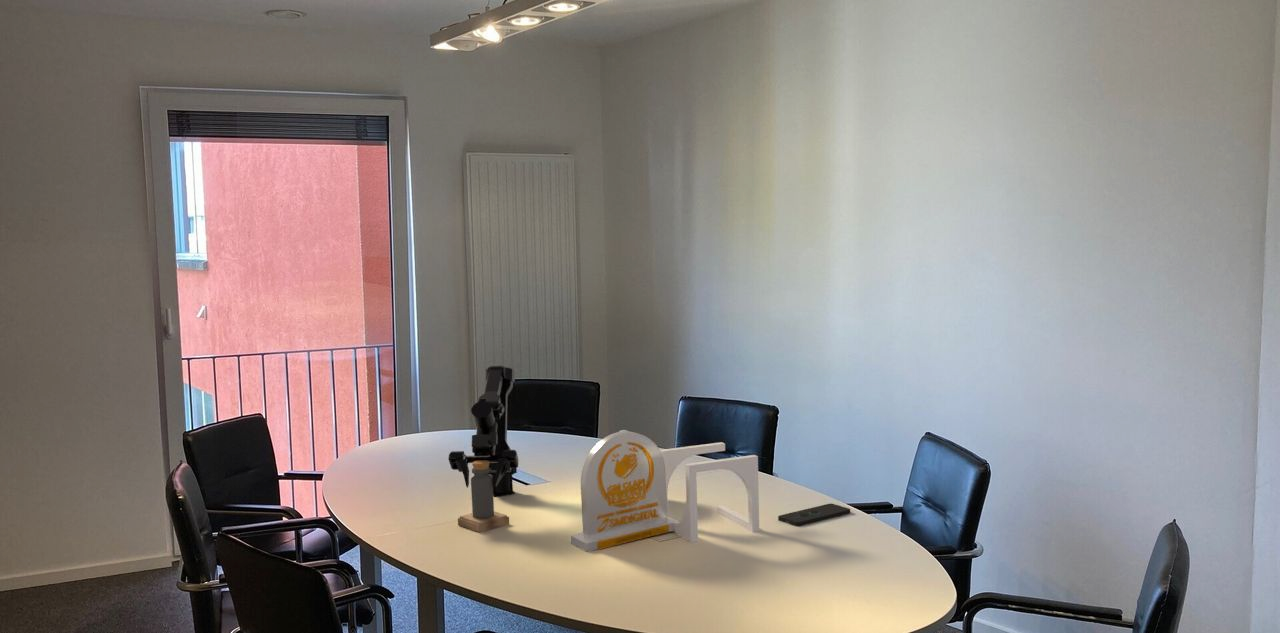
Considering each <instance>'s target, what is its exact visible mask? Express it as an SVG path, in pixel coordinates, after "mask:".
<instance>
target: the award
mask: <svg viewBox="0 0 1280 633" xmlns="http://www.w3.org/2000/svg"><path fill="white" fill-rule="evenodd" d="M594 445H595V447H594V446H593V447H594V448H591V450H590V452H589V453H588V455H587V457H586V458H585V461H584V463H583V467H582V469H581V475H580V496H581V497H580V498H581V514H582V516H581V517H582V518H581V519H582V532H580V533H579V532H578V533H575V534H574V533H573V534H571V535H570V544H571V545H573V546H574V547H576V548H579V549H580V550H583V551H584V552H585V553H587V552H591V551H592V552H593V551H596V550H601V549H606V548H609V547H614V546H618V545H621V544H626V543H631V542H634V541H639V540H642V539H646V538H649V537H653V536H657V535H662V534H666V533H670V532H673V531H675V524H678V523H679V522H680V521H679V520H678V519H675V518H673V517H672V518H671V517H670V516H669V511H668V512H667V498H668V490H667V489H666V469H665V463H664V459H663V456H662V454H661V452H660V450H661V449H659V447H658V445H657V444H656V443H655V442H654V441H653V440H652V439H650V438H649V437H648V436H646V435H645V434H641V433H638V432H634V431H628V430H627V431H622V432H619V431H617V432H613V433H611V434H609V435H607V436H605V437H603V438H602V439H601V440H600V441H598V442H597V443H596V444H594ZM668 516H669V517H668Z"/></svg>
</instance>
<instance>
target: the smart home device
mask: <svg viewBox="0 0 1280 633" xmlns="http://www.w3.org/2000/svg"><path fill="white" fill-rule="evenodd" d="M850 514H851V508H849V507H845V506H841V505H839V504H835V503H827V504H826V503H825V504H823V505H818V506H814V507H810V508H806V509H801V510H797V511H792V512H788V513H784V514H780V515H778V516H777V521H779V522H783V523H785V524H788V525H790V526H794V527H802V526H806V525H810V524H814V523H817V522H823V521H825V520H831V519H835V518H838V517H842V516H843V517H844V516H845V515H850Z"/></svg>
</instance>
